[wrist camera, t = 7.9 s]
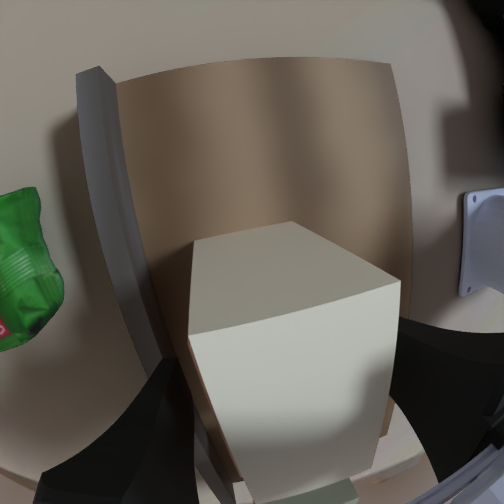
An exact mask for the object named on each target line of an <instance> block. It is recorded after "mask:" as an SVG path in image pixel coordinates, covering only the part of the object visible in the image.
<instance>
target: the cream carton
mask: <svg viewBox="0 0 504 504" xmlns="http://www.w3.org/2000/svg"><path fill="white" fill-rule="evenodd" d="M400 287H401V281H400V280H399V279H397V278H395V277H393V276H392V275H390V274H388V273H386V272H385V271H383V270H381V269H379V268H378V267H376V266H374V265H372V264H371V263H369V262H367V261H365V260H363V259H362V258H360V257H358V256H356V255H354V254H353V253H351V252H349V251H347V250H345V249H344V248H342V247H340V246H338V245H336V244H334V243H332V242H331V241H329V240H327V239H325V238H323V237H321V236H319V235H318V234H316V233H314V232H312V231H310V230H308V229H306V228H304V227H302V226H300V225H298V224H297V223H295V222H293V221H290V222H284V223H279V224H274V225H269V226H264V227H259V228H254V229H249V230H244V231H239V232H234V233H229V234H224V235H219V236H214V237H209V238H205V239H200V240H195V241H194V248H193V261H192V273H191V287H190V304H189V323H188V347H189V350H190V353H191V356H192V359H193V362H194V365H195V368H196V370H197V373H198V376H199V379H200V382H201V384H202V387H203V390H204V392H205V395H206V398H207V400H208V403H209V405H210V408H211V411H212V413H213V416H214V418H215V421H216V423H217V425H218V428H219V430H220V433H221V435H222V437H223V440H224V442H225V444H226V447H227V449H228V451H229V454H230V456H231V458H232V460H233V462H234V465H235V467H236V469H237V471H238V473H239V475H240V478H241V477H243V479H244V482H245V484H246V486H247V488H248V490H249V492H250V494H251V496H252V498H253V500H254V502H255V504H261V503H266V502H270V501H275V500H279V499H283V498H287V497H291V496H294V495H298V494H302V493H305V492H308V491H312V490H315V489H318V488H321V487H324V486H327V485H330V484H333V483H335V482H338V481H341V480H343V479H346V478H349V477H351V476H354V475H356V474H358V473H361V472H363V471H365V470H368V469H370V468H371V466H372V463H373V459H374V456H375V452H376V449H377V445H378V441H379V437H380V433H381V429H382V424H383V420H384V415H385V411H386V406H387V401H388V395H389V390H390V384H391V378H392V372H393V365H394V357H395V349H396V341H397V331H398V320H399V306H400Z"/></svg>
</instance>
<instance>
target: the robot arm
mask: <svg viewBox="0 0 504 504" xmlns="http://www.w3.org/2000/svg"><path fill="white" fill-rule="evenodd" d="M486 285H487V286H489V287H491V288H493V289H495V290H497V291H499V292H501V293H503V294H504V187H501V188H493V189H486V190H478V191H471V192H466V193H465V195H464V231H463V252H462V265H461V276H460V284H459V295H460V296H461V297H465V296H467V295H469V294H471V293H473V292H475V291H477V290H479V289H481V288H483V287H485V286H486ZM389 395H390V397H391V398H392V399H393V400H394V401H395V403H396V404H397V405H398V406H399V408H400V409H401V410H402V412H403V413H404V415H405V416H406V418H407V420H408V421H409V423H410V424H411V426H412V428H413V429H414V431H415V433H416V435H417V437H418V438H419V440H420V442H421V444H422V446H423V448H424V450H425V452H426V454H427V456H428V458H429V460H430V462H431V465H432V467H433V470H434V472H435V475H436V477H437V480H438V482H439V484H438V485H436V486H435V487H433V488H432V489H430V490H428V491H427V492H425V493H424V494H422V495H420V496H418V497H417V498H415V499H414V500H412V501H410V502H408V503H406V504H444V503H445V502H446V501H448V500H449V499H451V498H452V497H454V496H455V495H456V494H458V493H459V492H460V491H462V490H463V489H464V488H465V489H464V490H463V491H462V492H461V493H460V494H458V495H457V496H456V497H455V498H454V499H453V500H452V502H451V503H450V504H504V333H471V332H461V331H454V330H448V329H443V328H438V327H434V326H430V325H426V324H423V323H419V322H416V321H412V320H409V319H406V318H403V317H400V316H399V320H398V331H397V341H396V349H395V357H394V365H393V372H392V378H391V384H390V390H389ZM194 425H195V416H194V407H193V398H192V393H191V391H190V388H189V386H188V383H187V381H186V378H185V376H184V373H183V370H182V368H181V365H180V362H179V359H178V357H177V356H176V357H170V358H164V359H162V360H161V361H160V362H159V364H158V365H157V367H156V368H155V370H154V371H153V373H152V375H151V376H150V378H149V379H148V381H147V382H146V384H145V385H144V387H143V388H142V389H141V391H140V392H139V394H138V395H137V397H136V398H135V399H134V400H133V402H132V403H131V404H130V406H129V407H128V408H127V409H126V411H125V412H124V413H123V414H122V415H121V416H120V417H119V419H118V420H117V421H116V422H115V423H114V424H113V425H112V426H111V427H110V428H109V429H108V430H107V431H106V432H104V433H103V434H102V435H101V436H100V437H99V438H97V439H96V440H95V441H94V442H93V443H91V444H90V445H89V446H88V447H86V448H85V449H83V450H82V451H81V452H79V453H78V454H76V455H75V456H73V457H72V458H70V459H68V460H67V461H65V462H63V463H61V464H59V465H57V466H55V467H53V468H52V469H50V470H48V471H45V472H43V473H42V474H41V477H40V480H39V483H38V487H37V490H36V493H35V497H34V500H33V504H199V499H198V493H197V486H196V479H195V470H194ZM468 485H469V486H468ZM467 486H468V487H467ZM466 487H467V488H466Z"/></svg>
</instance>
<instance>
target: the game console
mask: <svg viewBox="0 0 504 504" xmlns="http://www.w3.org/2000/svg"><path fill="white" fill-rule="evenodd" d="M473 1H474V4H475V6H476V8H477V11H478V13H479V16H480V18H481V21H482V24H483V26H484V27H486V28H487V29H489V30H490V31H491V32H493V33H494V34H496V35H497V36H499V37H500V38H501V39H503V40H504V0H473ZM502 90H503V93H502V96H503V102H504V85H502Z"/></svg>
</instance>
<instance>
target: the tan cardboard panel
mask: <svg viewBox="0 0 504 504" xmlns="http://www.w3.org/2000/svg"><path fill="white" fill-rule="evenodd" d="M76 92H77V108H78V120H79V130H80V139H81V147H82V154H83V161H84V167H85V174H86V179H87V185H88V190H89V196H90V201H91V205H92V210H93V215H94V219H95V223H96V228H97V232H98V236H99V240H100V244H101V247H102V251H103V255H104V258H105V262H106V265H107V269H108V272H109V275H110V279H111V282H112V285H113V288H114V291H115V294H116V297H117V300H118V303H119V306H120V309H121V312H122V315H123V317H124V320H125V323H126V325H127V328H128V331H129V333H130V336H131V338H132V341H133V343H134V346H135V348H136V351H137V353H138V356H139V358H140V360H141V363H142V365H143V367H144V370H145V372H146V374H147V376H148V378H150V376H151V375H152V373H153V371H154V370H155V368H156V367H157V365H158V364H159V362H160V361H161V360H162V359H164V358H170V357H176V356H177V357H178V359H179V362H180V365H181V368H182V370H183V373H184V376H185V378H186V381H187V383H188V386H189V388H190V391H191V393H192V398H193V407H194V416H195V425H194V464H195V466H196V467H197V469H198V471H199V472H200V474H201V475H202V477H203V478H204V480H205V481H206V483H207V484H208V486H209V487H210V489H211V490H212V492H213V493H214V494H215V496H216V497H217V499H218V500H219V501H220V503H221V504H236V500H235V495H234V490H233V484H232V483H234V482H240V481H244V479H243V477H241V478H240V475H239V473H238V471H237V469H236V467H235V465H234V462H233V460H232V458H231V456H230V454H229V451H228V449H227V447H226V444H225V442H224V440H223V437H222V435H221V433H220V430H219V428H218V425H217V423H216V421H215V418H214V416H213V413H212V411H211V408H210V405H209V403H208V400H207V398H206V395H205V392H204V390H203V387H202V384H201V382H200V379H199V376H198V373H197V370H196V368H195V365H194V362H193V359H192V356H191V353H190V350H189V347H188V323H189V304H190V287H191V273H192V261H193V248H194V241H195V240H200V239H205V238H209V237H214V236H219V235H224V234H229V233H234V232H239V231H244V230H249V229H254V228H259V227H264V226H269V225H274V224H279V223H284V222H290V221H293V222H295V223H297V224H298V225H300V226H302V227H304V228H306V229H308V230H310V231H312V232H314V233H316V234H318V235H319V236H321V237H323V238H325V239H327V240H329V241H331V242H332V243H334V244H336V245H338V246H340V247H342V248H344V249H345V250H347V251H349V252H351V253H353V254H354V255H356V256H358V257H360V258H362V259H363V260H365V261H367V262H369V263H371V264H372V265H374V266H376V267H378V268H379V269H381V270H383V271H385V272H386V273H388V274H390V275H392V276H393V277H395V278H397V279H399V280H400V281H401V287H400V306H399V316H400V317H403V318H406V319H409V309H410V297H411V281H412V247H413V237H412V203H411V187H410V175H409V165H408V156H407V148H406V140H405V133H404V127H403V121H402V115H401V109H400V104H399V99H398V94H397V90H396V85H395V81H394V76H393V72H392V68H391V64H387V63H380V62H372V61H363V60H353V59H340V58H320V57H277V58H257V59H243V60H233V61H224V62H216V63H208V64H202V65H195V66H189V67H184V68H178V69H173V70H168V71H164V72H159V73H155V74H150V75H146V76H142V77H138V78H135V79H131V80H127V81H124V82H120V83H117V84H116V83H115V82H114V81H113V80H112V79H111V78H110V77H109V76H108V75H107V74H106V73H105V71H104V70H103V69H102V68H101V67H100V66H97V67H94V68H91V69H89V70H86V71H83V72H80V73H78V74H76ZM394 404H395V401H394V400H393V399H392V398H391V397H390V395H388V401H387V406H386V411H385V415H384V420H383V424H382V429H381V433H380V437H379V438H381V437H383V436H385V435H387V432H388V429H389V425H390V421H391V417H392V413H393V409H394Z"/></svg>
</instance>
